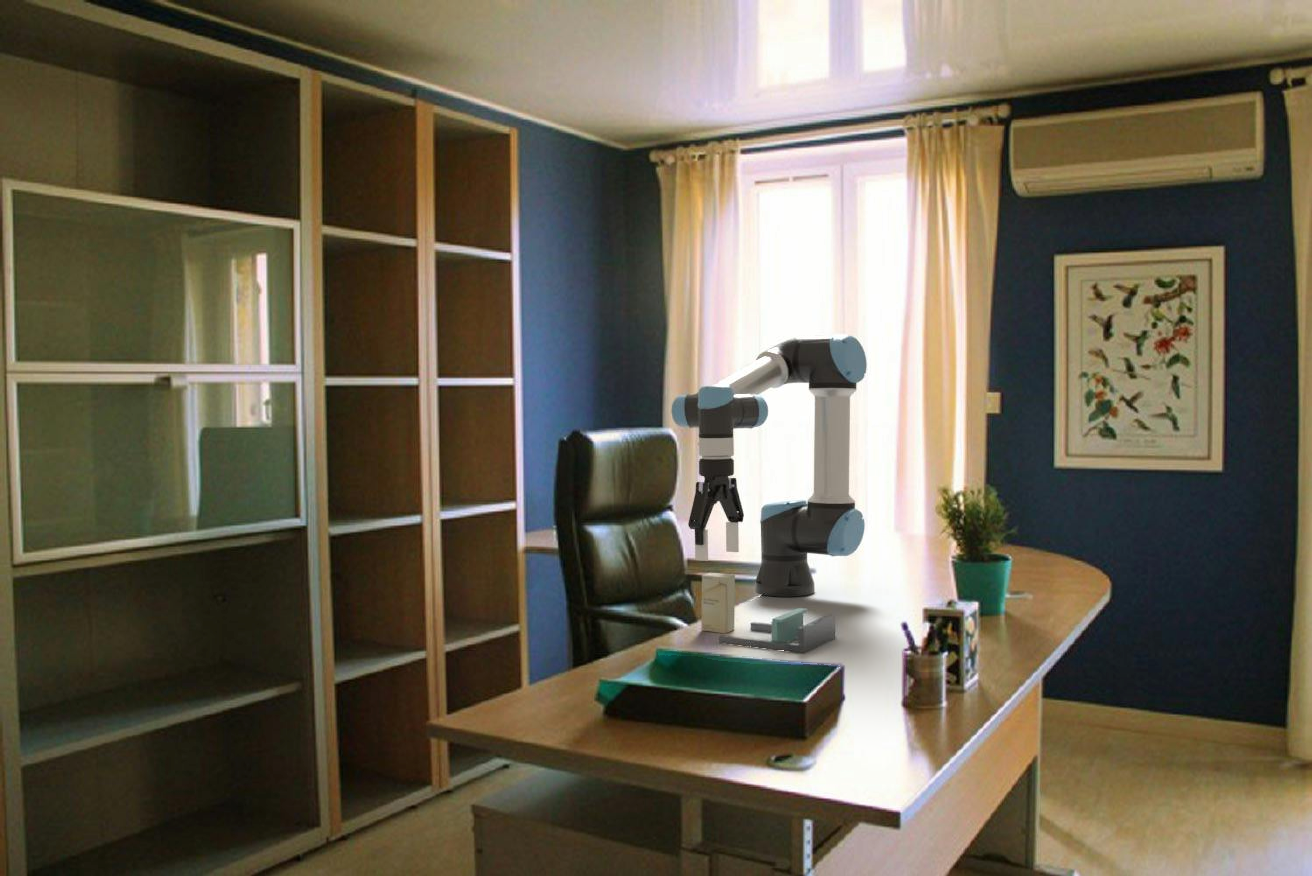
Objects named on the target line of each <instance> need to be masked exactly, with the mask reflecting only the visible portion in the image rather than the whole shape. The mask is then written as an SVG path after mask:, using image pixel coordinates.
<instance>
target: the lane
mask: <svg viewBox="0 0 1312 876" xmlns="http://www.w3.org/2000/svg"><path fill="white" fill-rule="evenodd" d="M836 630H837V629H836V614H834V613H829V614H827V615H825V616H822V617H819V618H817V619H815V620H813V621H811V622H808V623H805V624H803V626H802V627H799V628H798V638H797V640H798V643H792V642H787V643H786V642H777V641H772V640H769V639H760V638H759V639H758V638H751V637H742V636H736V635H733V636H732V635H726V634H720V635H718V644H721V643H726V644H725V645H729V644H733V645H732V646H737V645H742V646H741V647H745V646H749V647H748V648H753V647H758V648H757V649H761V648H766V649H765V650H769V649H772V650H771V651H777V650H784V651H783V652H785V651H789V652H788V653H794V654H795V653H796V654H802V653H803V655H805V654H807V653H809V652H811V651H813V650H815V649H817V648H818V647H821V646H823V645H824V644H827V643H829V642H831V641H833V640H835V639H836V637H837V635H836ZM750 631H755V632H756V631H758V632H767V633H772V623H765V622H756V621H753V622H750ZM750 646H751V647H750Z"/></svg>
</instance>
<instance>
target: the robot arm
mask: <svg viewBox="0 0 1312 876" xmlns="http://www.w3.org/2000/svg"><path fill="white" fill-rule="evenodd" d="M867 366H868V364H867V357H866V353H865V350H864V347H863V345H862V344H861V342H860V341H859V340H858V338H856V337H854V336H853V335H850V334H838V333H837V334H827V335H826V334H825V335H813V336H811V335H810V336H808V335H807V336H805V335H803V336H802V335H801V336H797V337H793V338H790V339H787V340H785V341H782V342H780V343H778V344H776V345H773V346H772V347H770V348H768V349H767V350H765V351H762V352H761V353H760V354H758V356H756V359H755V360H754V361H753V362H751V363H749V364H748V365H745V366H743V368H740V369H738V370H737V371H734V372H733V373H731V374H729V375H728V376H726V377H723V378H722V379H721V380H719V381H716V382H715V383H713V384H711V385H704V386H703V385H702V386H701V387H700V388H699V390H698V392H696V393H693V394H689V393H688V394H687V393H686V394H682V395H678V396H676V397H675V398H674V400H673V402H672V404H671V408H670V409H671V416H672V420H673V422H674V423H675V425H677V426H678V427H681V428H689V429H695V428H697V429H698V443H697V444H698V455H699V457H701V458H699V460H698V474H699V476H701V477H703V478H704V479H703V480H704V481H697V482H696V483H695V493H694V497H693V501H692V507H691V511H690V514H689V519H688V523H687V524H688V528H689V529H690V530H694V560H695V561H706V562H707V561H709V535H708V534H709V533H708V532H709V530H708V529H707V524H708V522H709V520H710V516H711V515H712V511H713V509H714V505H716V504H717V503H718V502H719V503H720V506H721V509H722V510H723V512H724V514H725V516H726V517H725V518H726V519H727V520H728V521H725V535H726V536H725V544H726V545H725V547H726V549H725V551H726V552H728V553H739V552H740V551H739V550H740V548H739V544H740V543H739V541H740V540H739V523H743V521H744V517H745V514H744V509H743V505H742V502H741V498H740V494H739V490H738V484H737V478H736V477H733V475H734V474H735V460H734V459H733V456H734V455H735V451H734V450H735V449H734V446H735V445H734V441H735V440H734V429H751V430H752V429H754V428H758V427H760V426H762V425H763V424H764V423H765V422H766V420H767V419H768V415H769V406H768V403H767V401H766V399H764V398H763V397H762V396H761V395H760V394H762V393H763V392H766V391H767V390H770V388H773V389H776V388H777V389H778V388H780V387H782V386H784V385H786V384H788V385H789V384H797V383H799V384H800V383H801V384H804V383H805V384H808V391H809V392H810V393H811V394H812V395H813V396H814V430H813V431H814V433H813V434H814V439H813V442H814V444H813V493H812V495H811V496H810V497H809V498H807V500H805V499H797V500H788V501H780V502H779V501H778V502H772V503H767V504H766V503H765V504H764V505H763V506H762V507H761V510H760V520H759V523H760V545H761V547H760V548H761V549H760V551H761V556H760V557H761V561H760V565H759V569H758V571H757V575H756V579H755V582H754V592H755V593H756V594H758V595H762V596H768V597H769V596H770V597H783V598H784V597H785V598H787V597H788V598H790V597H802V596H808V595H813V594H815V580H814V578H813V574H812V572H811V570H810V565H809V563H808V562H809V561H808V554H812V555H813V554H814V555H823V556H824V555H825V556H830V557H848V556H851V555H853V554H854V553H855V552H856V551H857V550H858V549H859V546H860V545H861V543H862V540H863V537H864V534H865V527H866V526H865V524H866V523H865V518H864V516H863V513H862V511H860V510H859V509H857V508H856V501H855V499H854V498H853V497H851V495H850V438H851V436H850V434H851V432H850V431H851V430H850V429H851V425H850V424H851V396H852V395H853V394H854V393H855V392H856V391H857V383H859V382H861V381H863V379H864V378H865V374H866V373H867Z"/></svg>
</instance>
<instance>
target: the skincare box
mask: <svg viewBox="0 0 1312 876" xmlns="http://www.w3.org/2000/svg"><path fill="white" fill-rule="evenodd" d="M735 580H736V575H735V574H732V573H731V574H728V573H720V572H708V573H704V574H702V575H701V623H700V625H701V628H700V630H701V631H705V632H706V631H707V632H711V633H719V634H720V633H721V634H726V633H730V632H732V631H735V611H736V610H735V602H736V601H735V600H736V599H735V597H736V596H735V595H736V594H735V593H736V591H735V590H736V589H735V588H736V584H735V583H736V581H735Z"/></svg>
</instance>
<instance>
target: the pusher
mask: <svg viewBox="0 0 1312 876" xmlns="http://www.w3.org/2000/svg"><path fill="white" fill-rule="evenodd" d="M808 611H809V610H808V608H802V607H798V608H795V609H793V610H791V611H788V612H786V613H784V614H780V615H778V616H776V617H774V618H772V620H771V624H772V632H771V641H777V642H786V643H790V642H791V641H793V640H796V639H798V628H799V627H802V626H804V614H806V613H808Z"/></svg>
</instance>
